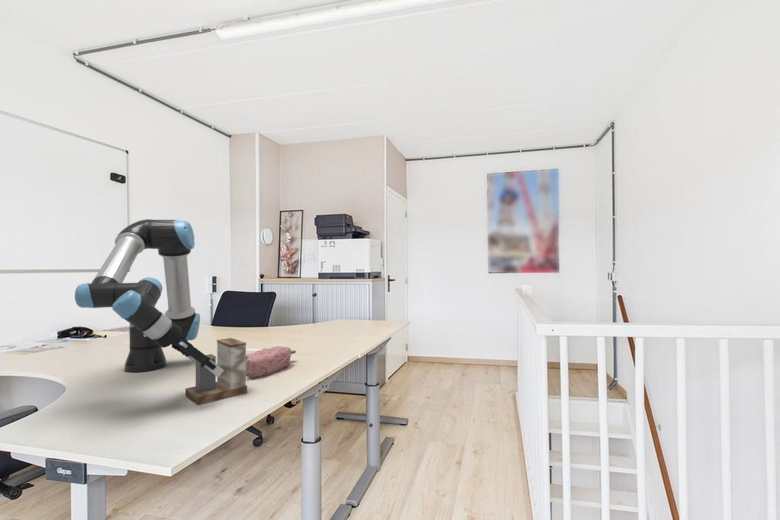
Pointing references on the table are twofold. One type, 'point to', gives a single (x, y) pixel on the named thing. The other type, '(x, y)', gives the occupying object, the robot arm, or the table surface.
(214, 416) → the table surface
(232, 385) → the stand
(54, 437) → the table surface
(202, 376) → the case
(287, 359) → the ice cream bar
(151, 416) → the table surface
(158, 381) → the table surface
